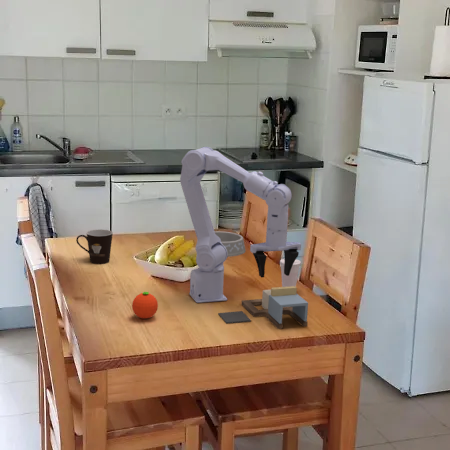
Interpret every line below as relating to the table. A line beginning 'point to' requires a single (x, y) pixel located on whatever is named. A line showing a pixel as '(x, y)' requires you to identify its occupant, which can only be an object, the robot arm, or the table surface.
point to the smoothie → (293, 274)
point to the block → (265, 298)
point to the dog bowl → (232, 243)
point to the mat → (234, 317)
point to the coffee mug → (98, 245)
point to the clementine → (145, 305)
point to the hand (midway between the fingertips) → (274, 275)
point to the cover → (286, 303)
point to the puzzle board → (255, 312)
